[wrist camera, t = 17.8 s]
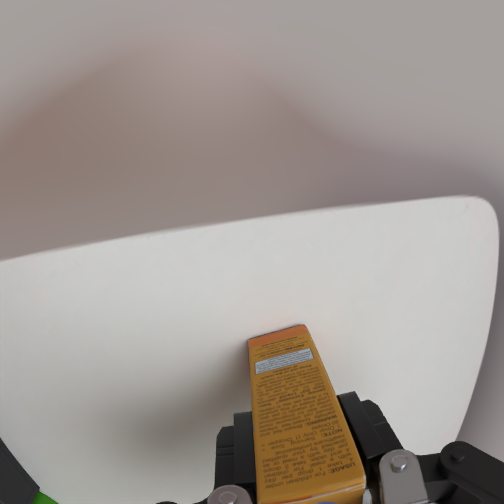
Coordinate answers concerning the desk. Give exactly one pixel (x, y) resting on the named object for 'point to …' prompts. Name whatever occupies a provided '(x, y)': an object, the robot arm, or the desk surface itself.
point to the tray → (14, 480)
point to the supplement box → (299, 425)
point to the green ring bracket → (42, 499)
